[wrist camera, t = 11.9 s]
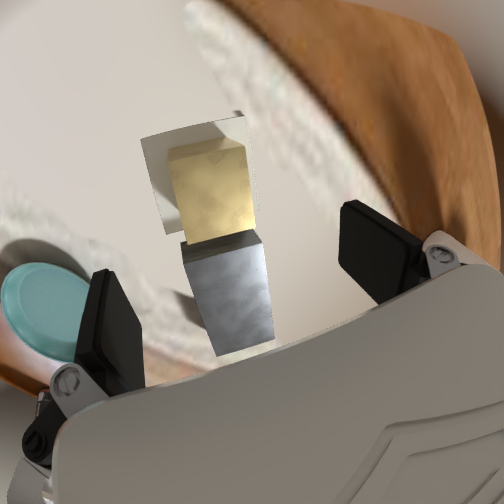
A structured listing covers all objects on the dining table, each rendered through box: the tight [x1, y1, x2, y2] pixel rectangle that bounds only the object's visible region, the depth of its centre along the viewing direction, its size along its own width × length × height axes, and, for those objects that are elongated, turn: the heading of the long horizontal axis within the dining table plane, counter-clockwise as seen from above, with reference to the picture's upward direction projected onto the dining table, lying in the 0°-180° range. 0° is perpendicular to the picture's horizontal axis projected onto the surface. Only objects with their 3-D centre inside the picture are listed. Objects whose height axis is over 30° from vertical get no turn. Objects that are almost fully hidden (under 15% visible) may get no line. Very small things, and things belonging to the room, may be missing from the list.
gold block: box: [167, 137, 256, 245], centre depth 20 cm, size 6×5×6 cm
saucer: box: [0, 262, 90, 363], centre depth 24 cm, size 15×15×3 cm
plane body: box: [181, 228, 275, 357], centre depth 28 cm, size 13×7×4 cm, turn 8°
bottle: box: [422, 230, 503, 275], centre depth 27 cm, size 8×8×30 cm
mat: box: [141, 116, 259, 235], centre depth 23 cm, size 9×9×1 cm
